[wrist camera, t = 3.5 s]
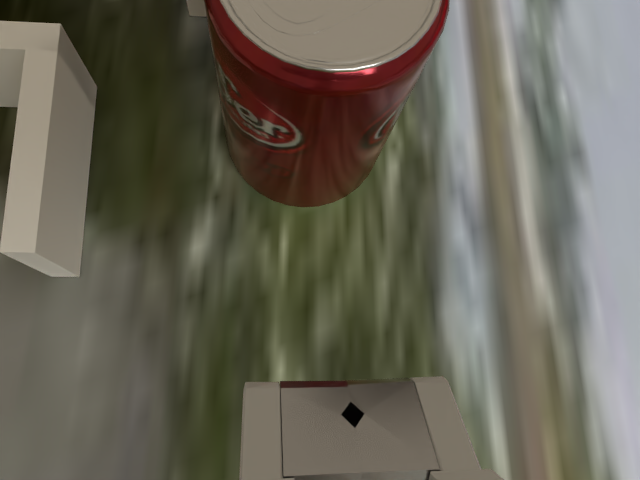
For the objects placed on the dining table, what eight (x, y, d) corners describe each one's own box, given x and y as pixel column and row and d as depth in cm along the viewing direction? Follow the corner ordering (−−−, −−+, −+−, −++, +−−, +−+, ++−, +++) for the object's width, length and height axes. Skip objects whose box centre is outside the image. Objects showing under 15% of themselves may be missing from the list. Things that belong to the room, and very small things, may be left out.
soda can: (239, 222, 26) (220, 99, 15) (216, 81, 28) (182, -132, 16) (391, 198, 27) (485, 65, 16) (360, 63, 29) (425, -149, 17)
